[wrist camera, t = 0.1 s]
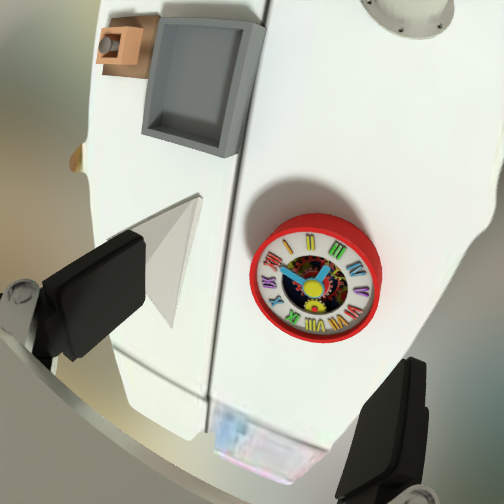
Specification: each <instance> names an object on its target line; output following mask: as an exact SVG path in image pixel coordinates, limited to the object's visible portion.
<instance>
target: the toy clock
mask: <svg viewBox="0 0 504 504" xmlns="http://www.w3.org/2000/svg"><path fill="white" fill-rule="evenodd" d="M249 277H250V287H251V291H252V294H253V297H254V299H255V302H256V303H257V305H258V307H259V308H260V310H261V312H262V313H263V314H264V315H265V316H266V318H267V319H268V320H269V321H270V322H272V323H273V324H274V325H275V326H276V327H278V328H279V329H280V330H282V331H283V332H285V333H287V334H289V335H291V336H293V337H295V338H298V339H301V340H304V341H309V342H314V343H333V342H338V341H343V340H345V339H348V338H350V337H352V336H354V335H356V334H357V333H359V332H360V331H362V330H363V329H364V328H365V327H366V326H367V325H368V324H369V322H370V321H371V319H372V318H373V316H374V314H375V312H376V310H377V307H378V302H379V297H380V290H381V283H382V266H381V261H380V258H379V255H378V253H377V250H376V248H375V247H374V245H373V244H372V242H371V241H370V239H369V238H368V237H367V236H366V235H365V234H364V233H363V232H362V231H361V230H360V229H359V228H357V227H356V226H354V225H353V224H352V223H350V222H348V221H346V220H344V219H342V218H339V217H336V216H332V215H328V214H320V213H314V214H304V215H300V216H296V217H294V218H292V219H289V220H287V221H286V222H284V223H283V224H281V225H280V226H279V227H278V228H277V229H276V230H275V231H274V232H273V233H272V234H271V235H270V236H269V237H268V238H267V240H266V241H265V242H264V243H263V244H262V245H261V246H260V247H259V248H258V250H257V252H256V253H255V255H254V257H253V260H252V263H251V266H250V273H249Z"/></svg>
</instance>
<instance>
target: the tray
mask: <svg viewBox="0 0 504 504" xmlns="http://www.w3.org/2000/svg"><path fill="white" fill-rule="evenodd" d="M266 30H267V29H266V28H265V27H263V26H261V25H259V24H256V23H254V22H248V21H238V20H228V19H214V18H192V17H160V20H159V25H158V30H157V35H156V40H155V45H154V50H153V55H152V61H151V67H150V73H149V79H148V86H147V93H146V100H145V107H144V115H143V124H142V133H141V134H143V135H147V136H150V137H154V138H158V139H161V140H165V141H168V142H172V143H175V144H179V145H182V146H186V147H189V148H192V149H196V150H199V151H202V152H205V153H209V154H212V155H215V156H218V157H221V158H227V157H230V156H232V155H235V154H238V153H239V148H240V143H241V139H242V134H243V129H244V125H245V120H246V116H247V111H248V107H249V102H250V98H251V93H252V89H253V84H254V80H255V76H256V71H257V67H258V63H259V59H260V54H261V50H262V46H263V42H264V38H265V34H266Z"/></svg>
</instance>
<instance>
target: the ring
mask: <svg viewBox="0 0 504 504" xmlns="http://www.w3.org/2000/svg"><path fill="white" fill-rule="evenodd" d="M143 29H144V28H137V27H129V26H126V27H111V28H102V30H101V35H100V41H101V40H102V39H103V38H104V37H109V38H111V40H116V41H120V45H119V51H109V52H108V53H100V51H99V47H98V54H97V60H96V64H118V65H137V62H138V56H139V50H140V44H141V39H142V34H143ZM120 36H121V39H120ZM100 41H99V43H100ZM117 53H118V57H117Z"/></svg>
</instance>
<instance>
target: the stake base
mask: <svg viewBox="0 0 504 504" xmlns="http://www.w3.org/2000/svg"><path fill="white" fill-rule="evenodd" d="M159 20H160V16H158V15H152V16H134V17H121V18H112V19H111V24H110V28H111V27H126V26H129V27H137V28H144V29H143V34H142V39H141V44H140V50H139V56H138V62H137V65H118V64H104V65H103V72H102V75H111V76H122V77H132V78H141V79H149V73H150V67H151V61H152V55H153V50H154V45H155V40H156V35H157V30H158V25H159ZM120 39H121V36H120ZM119 45H120V41H116V40H111V38H109V37H104V38H103V39H102V40H101V41H100V43H99V51H100V53H108V52H109V51H119ZM117 57H118V53H117Z"/></svg>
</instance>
